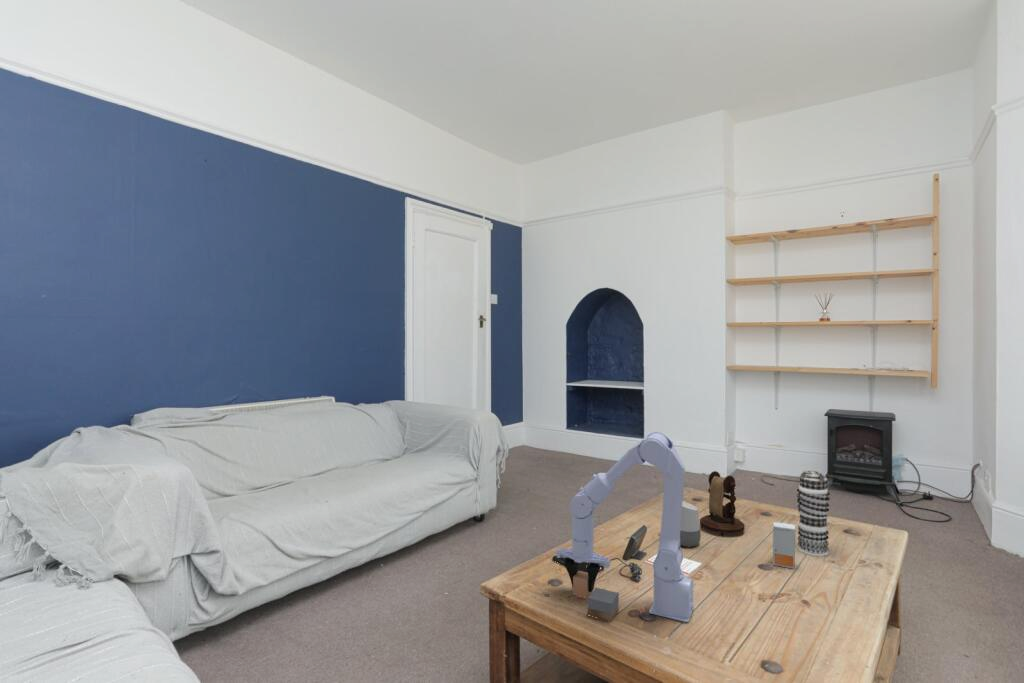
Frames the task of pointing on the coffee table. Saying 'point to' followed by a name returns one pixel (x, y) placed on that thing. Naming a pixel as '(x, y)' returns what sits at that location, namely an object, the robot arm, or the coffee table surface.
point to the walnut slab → (602, 614)
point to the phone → (580, 565)
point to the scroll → (721, 506)
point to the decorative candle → (813, 513)
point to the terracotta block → (581, 584)
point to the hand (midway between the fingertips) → (582, 588)
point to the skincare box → (784, 545)
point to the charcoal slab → (603, 600)
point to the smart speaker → (689, 526)
